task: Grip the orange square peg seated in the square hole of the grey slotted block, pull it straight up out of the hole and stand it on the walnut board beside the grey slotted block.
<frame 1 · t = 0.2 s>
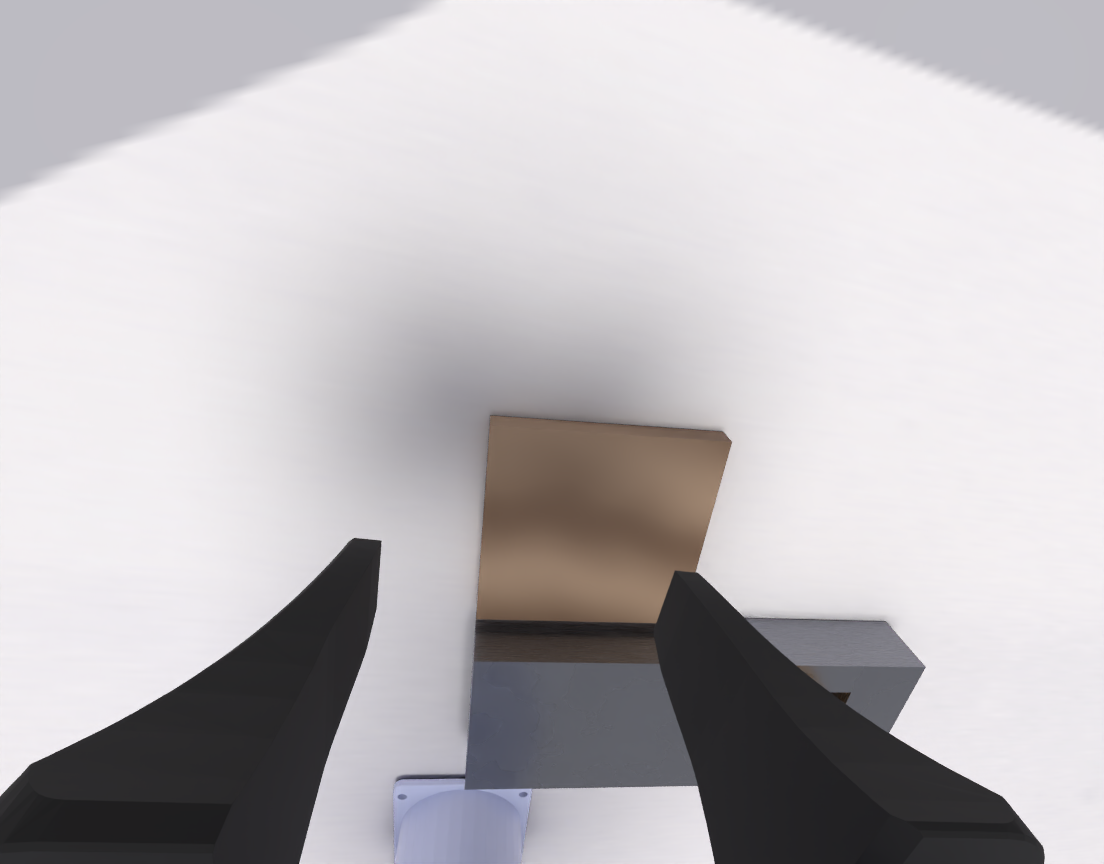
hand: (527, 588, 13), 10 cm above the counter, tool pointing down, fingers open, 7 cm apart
board: (592, 522, 25), on the counter
grey slotted block: (673, 679, 29), on the counter
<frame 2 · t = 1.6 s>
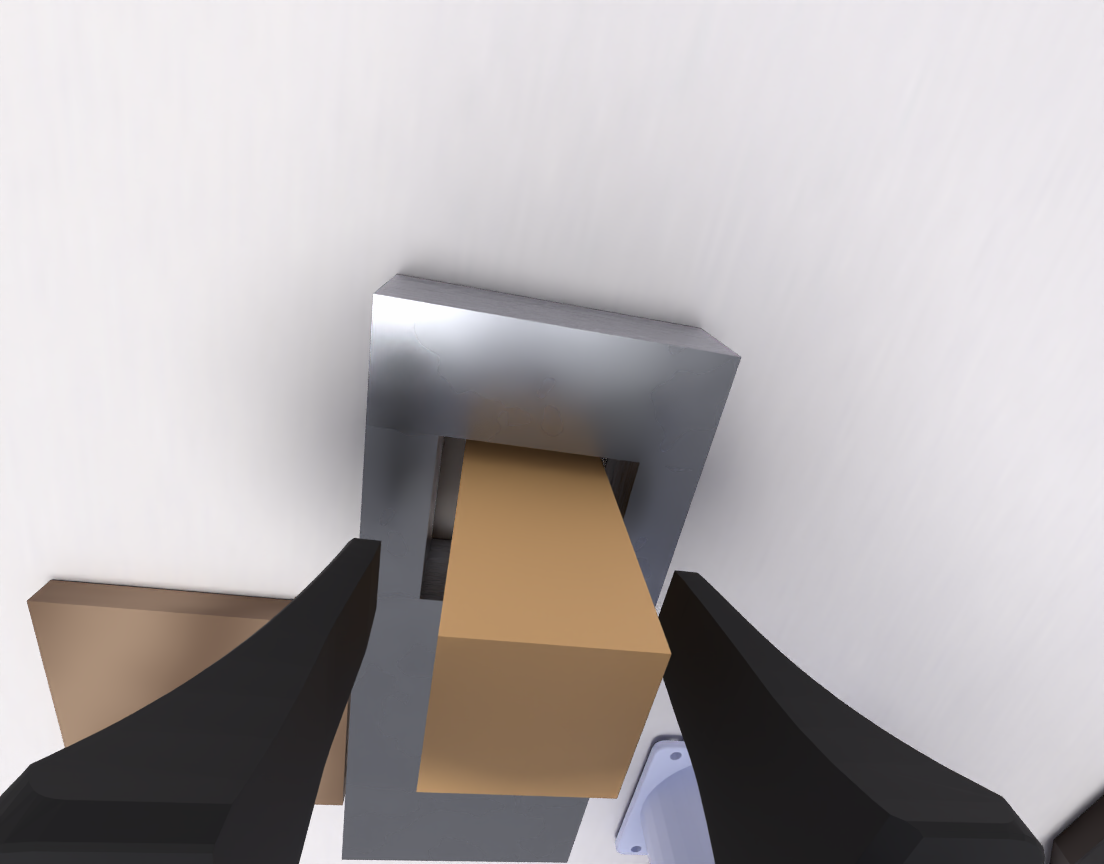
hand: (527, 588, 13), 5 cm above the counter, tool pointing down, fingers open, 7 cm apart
board: (219, 694, 21), on the counter
peg: (521, 480, 18), resting in grey slotted block
grey slotted block: (499, 596, 20), on the counter
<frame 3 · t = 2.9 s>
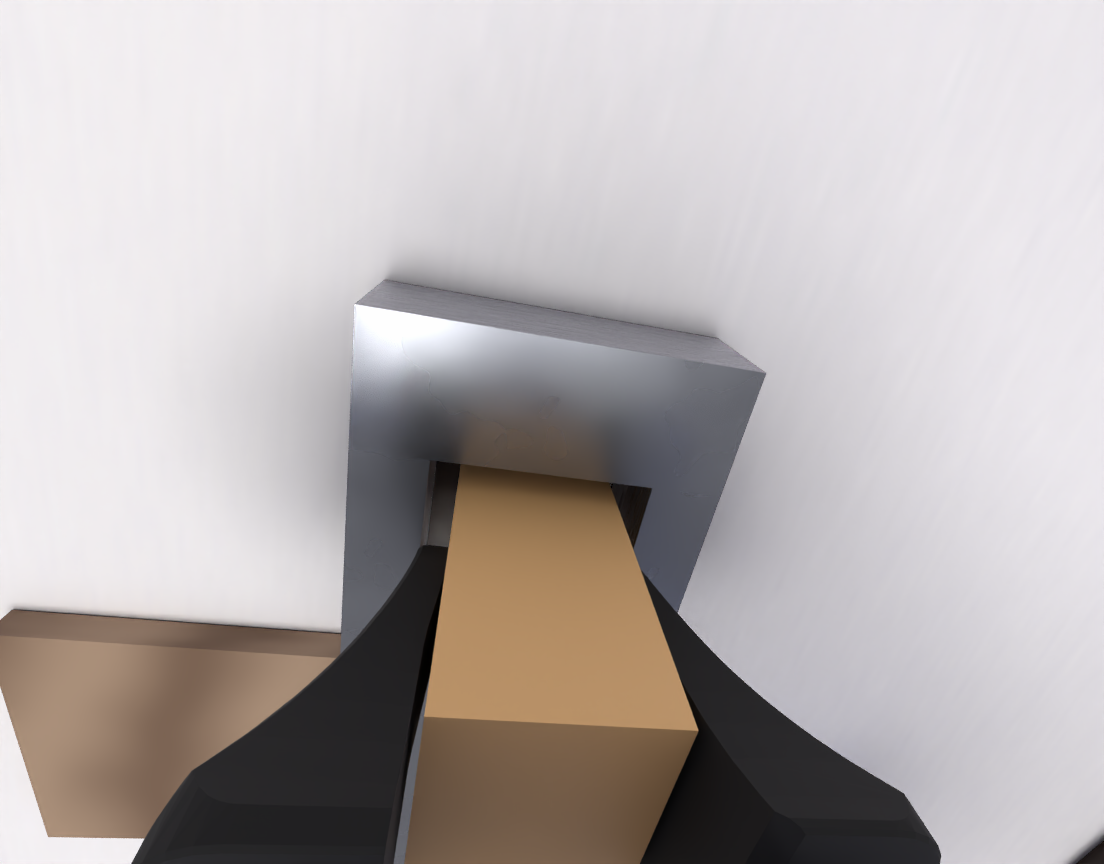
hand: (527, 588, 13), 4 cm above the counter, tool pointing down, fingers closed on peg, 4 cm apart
board: (198, 726, 19), on the counter
peg: (521, 501, 17), resting in grey slotted block, touching gripper
grey slotted block: (497, 624, 19), on the counter
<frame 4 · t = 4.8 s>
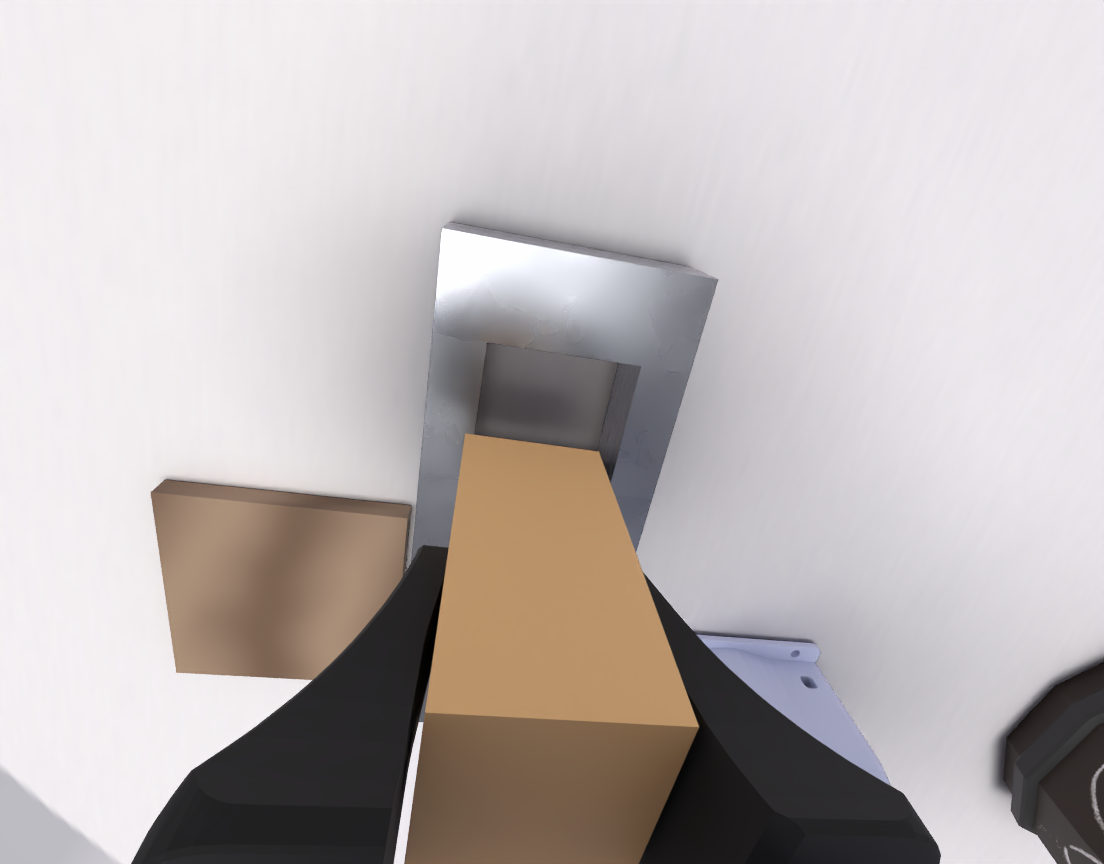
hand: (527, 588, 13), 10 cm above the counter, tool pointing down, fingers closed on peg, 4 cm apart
board: (293, 584, 25), on the counter
peg: (522, 500, 17), point 6 cm above the counter, touching gripper
grey slotted block: (526, 498, 24), on the counter
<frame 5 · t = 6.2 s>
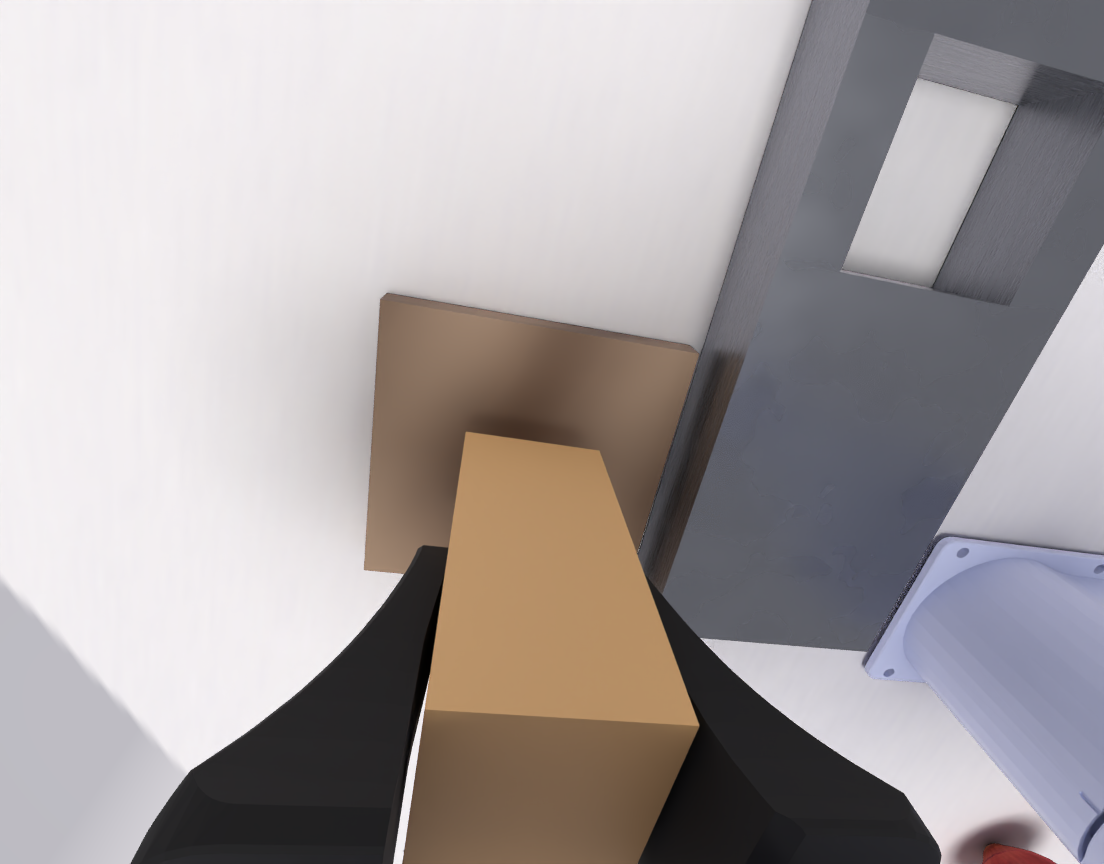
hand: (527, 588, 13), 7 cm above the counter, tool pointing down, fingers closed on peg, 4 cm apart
board: (519, 455, 19), on the counter
peg: (522, 498, 16), point 3 cm above the counter, touching gripper
grey slotted block: (833, 340, 18), on the counter
onion: (987, 841, 34), on the counter
when the fingers open (6 cm above the counter, at t = 7.2 s): peg stays where it is, resting on board.
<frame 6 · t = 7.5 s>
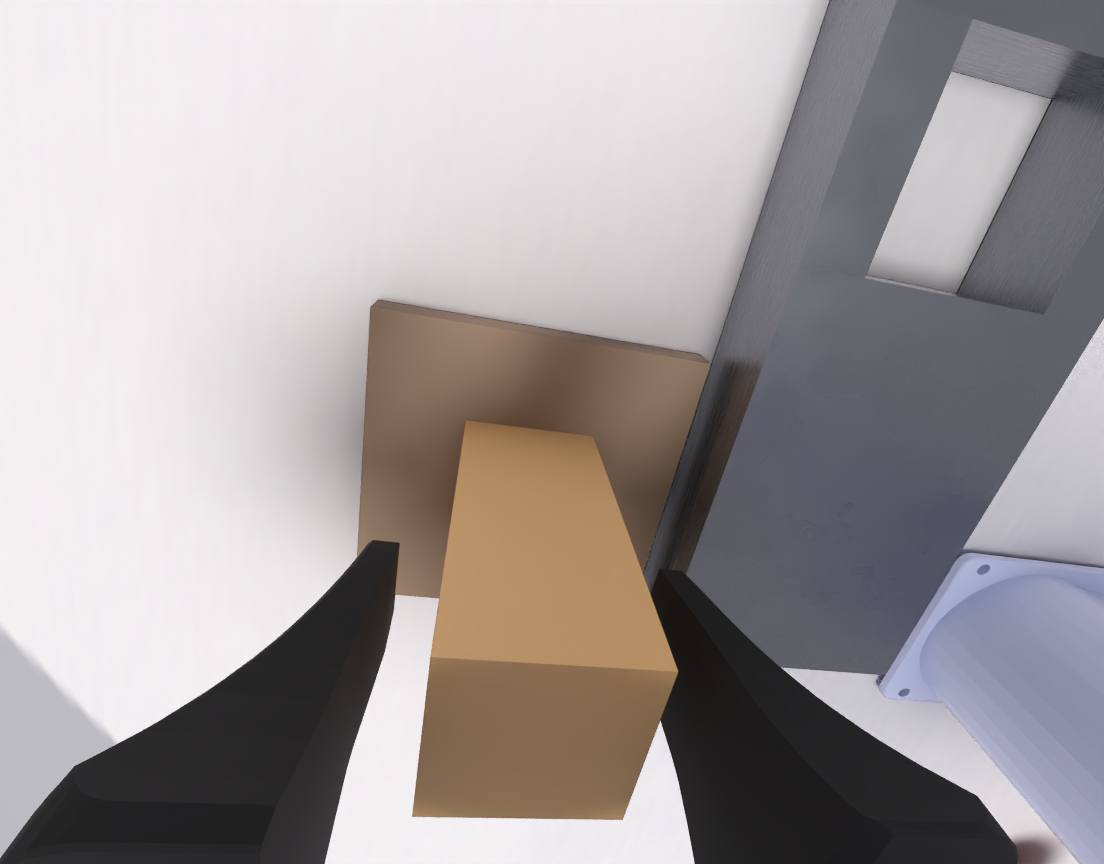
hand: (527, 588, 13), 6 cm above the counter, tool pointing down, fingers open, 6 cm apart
board: (519, 470, 18), on the counter
peg: (520, 483, 17), point 1 cm above the counter, touching board
grey slotted block: (851, 349, 17), on the counter
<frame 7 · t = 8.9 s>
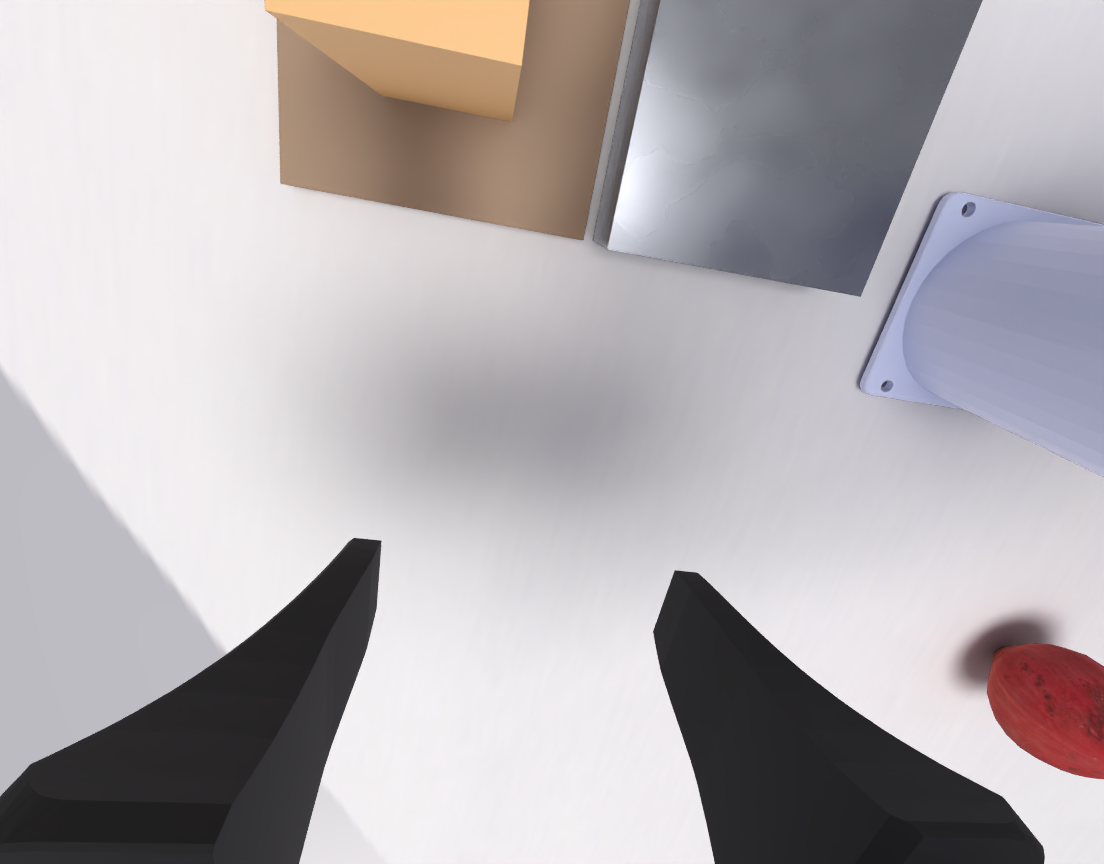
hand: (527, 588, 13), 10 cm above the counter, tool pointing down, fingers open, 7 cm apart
board: (456, 42, 17), on the counter
peg: (454, 32, 16), point 1 cm above the counter, touching board
onion: (997, 647, 31), on the counter
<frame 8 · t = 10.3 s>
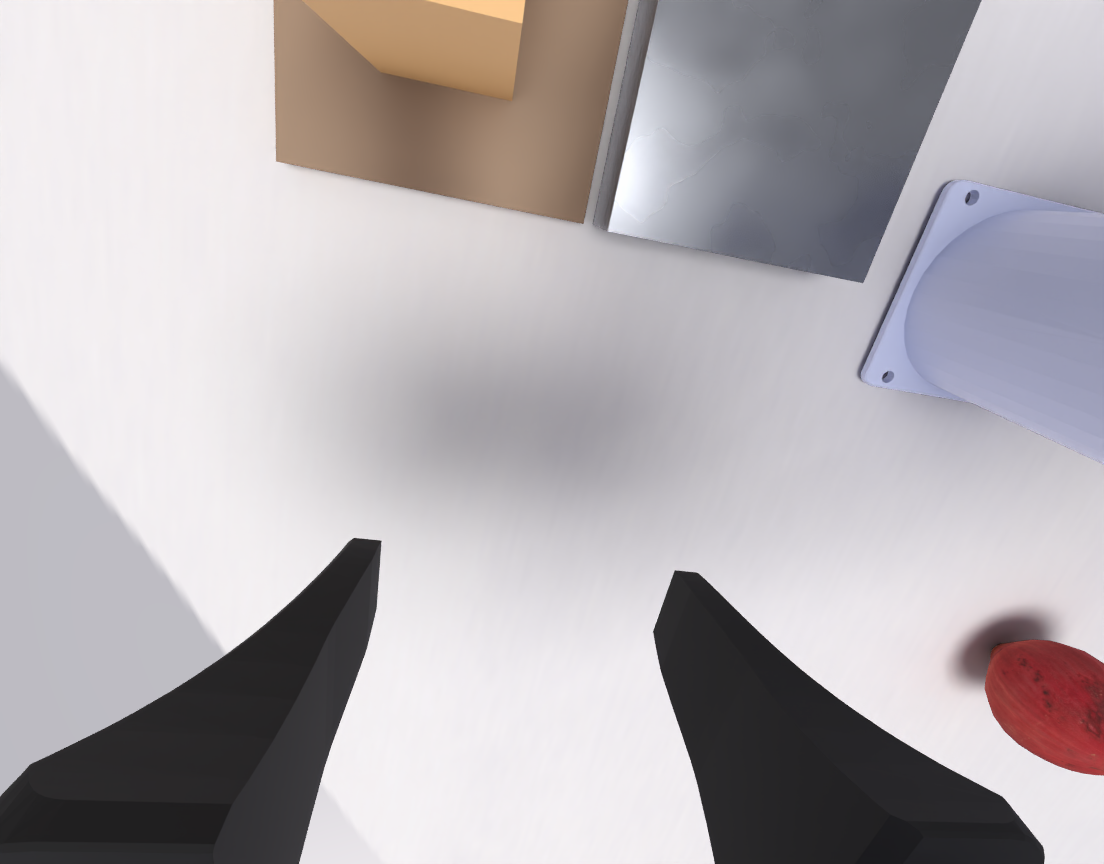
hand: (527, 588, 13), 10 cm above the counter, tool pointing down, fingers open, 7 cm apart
board: (456, 19, 17), on the counter
peg: (454, 7, 16), point 1 cm above the counter, touching board
onion: (995, 643, 31), on the counter
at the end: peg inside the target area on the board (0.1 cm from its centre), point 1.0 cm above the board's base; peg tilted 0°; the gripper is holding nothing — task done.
